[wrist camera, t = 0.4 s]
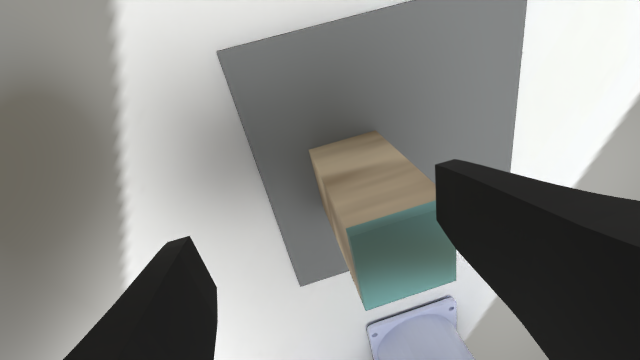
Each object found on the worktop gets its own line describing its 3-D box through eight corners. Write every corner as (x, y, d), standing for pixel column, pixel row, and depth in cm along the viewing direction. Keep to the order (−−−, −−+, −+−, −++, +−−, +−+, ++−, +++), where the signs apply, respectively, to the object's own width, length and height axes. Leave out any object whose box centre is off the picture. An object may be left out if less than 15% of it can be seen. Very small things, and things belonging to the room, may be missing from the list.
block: (383, 188, 20) (456, 280, 13) (323, 206, 20) (365, 310, 13) (375, 130, 18) (456, 203, 11) (308, 149, 18) (349, 236, 11)
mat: (500, 216, 24) (505, 220, 24) (299, 281, 23) (300, 286, 23) (522, -29, 16) (530, -30, 16) (217, 51, 15) (216, 52, 15)
